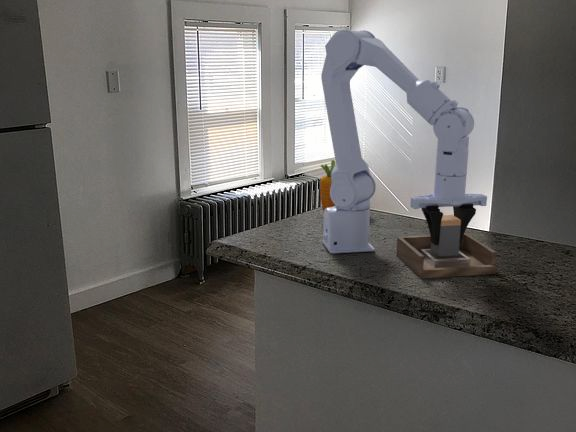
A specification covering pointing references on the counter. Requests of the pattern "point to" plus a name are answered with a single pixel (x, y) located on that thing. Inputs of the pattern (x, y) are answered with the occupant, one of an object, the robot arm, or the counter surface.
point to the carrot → (326, 187)
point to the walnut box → (446, 257)
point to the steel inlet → (458, 262)
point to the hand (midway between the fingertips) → (445, 242)
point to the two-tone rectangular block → (448, 237)
